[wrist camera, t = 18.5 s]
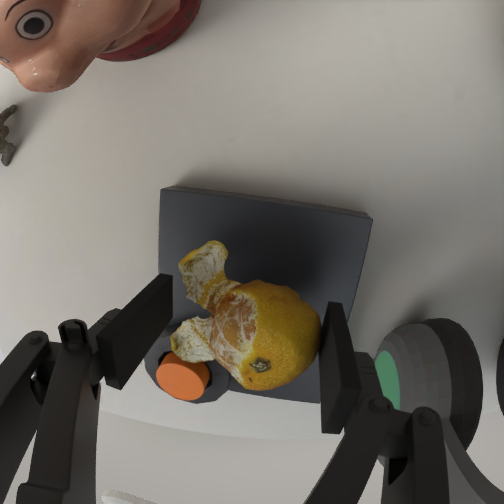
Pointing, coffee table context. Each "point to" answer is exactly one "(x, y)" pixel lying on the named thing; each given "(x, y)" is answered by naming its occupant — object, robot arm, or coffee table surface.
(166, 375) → the button
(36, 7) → the decorative planter
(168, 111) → the coffee table surface
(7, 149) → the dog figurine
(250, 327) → the fruit
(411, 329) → the grey headset
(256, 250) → the scale
